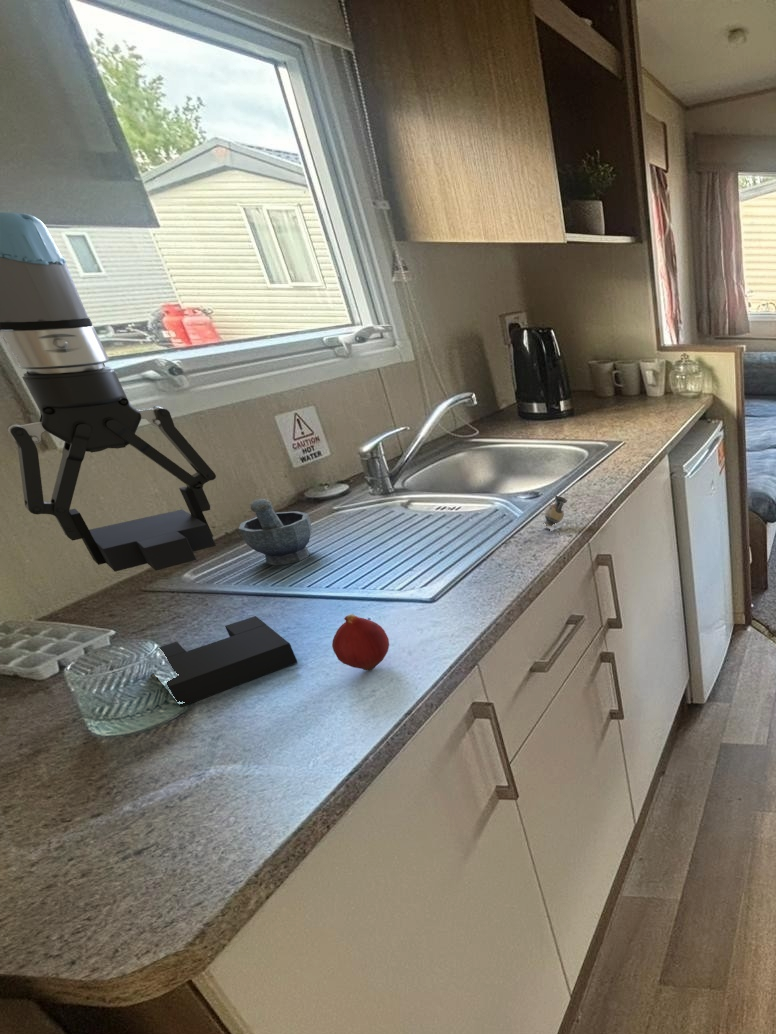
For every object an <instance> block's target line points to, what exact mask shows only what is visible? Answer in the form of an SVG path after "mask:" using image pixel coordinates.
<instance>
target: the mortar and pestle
mask: <svg viewBox="0 0 776 1034" xmlns="http://www.w3.org/2000/svg"><path fill="white" fill-rule="evenodd" d="M250 510H251V511H252V512H254V513H255V517H253V518H250V519H248V520H245V521H242V522H241V523H240V525H239V526H238V531H239V533H240V536H241V538H242V539H243V541H244V542H245V544H246V545H247V546H248V547H250V548H251V549H252V550H253V551H255V552H258V553H260V554H262V555H264V556H265V557H264V558H265V563H266V564H267V565H272V566H282V565H283V566H285V565H289V564H294V563H298V562H300V561H302V560H305V559H307V558H308V557H310V551H309V548H307V545H309V543H310V539H311V534H312V530H313V529H312V522H311V518H310V516H309V514H308V513H307V512H302V511H299V510H297V511H295V510H294V511H278V512H275V510H274V509H273V503H272V502H271V501H270V500H268V499H267V498H257V499H255V500H253V501H252V502H251V503H250Z"/></svg>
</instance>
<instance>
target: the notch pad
mask: <svg viewBox="0 0 776 1034" xmlns="http://www.w3.org/2000/svg"><path fill="white" fill-rule="evenodd" d="M224 627H225V630H226V632H227V634H228V636H229V637H226V638H222V639H219V640H216V641H213V642H211V643H207V644H204V645H202V646H198V647H195V648H192V649H189V650H186V649H185V648H184V647H183V646H182V645H181V644H180V643H179V642H178V641H174V642H171V643H168V644H165V645H162V646H158V647H159V648H160V649H161V650H162V651H163V652H164V654H165V656H166V657H167V659H168V661H169V663H170V664H171V666H172V668H173V669H174V671H176V673H177V674H179V676H177V677H176V678H173V679H172V680H170V681H168V682H167V685H168V687H169V689H170V690H171V692H172V694H173V696H174V697H175V699H176V700H177V702H179V701H180V702H182V701H183V702H185V703H183V704H180V705H179V704H178V703H177V702H176V704H177V705H178V706H179V707H180V708H182V707H185V706H188V705H190V704H193V703H196V702H198V701H201V700H203V699H205V698H209V697H212V696H214V695H216V694H219V693H222V692H225V691H227V690H229V689H233V688H234V687H238V686H240V685H242V684H245V683H247V682H251V681H253V680H256V679H259V678H261V677H263V676H266V675H269V674H272V673H274V672H277V671H279V670H282V669H285V668H287V667H290V666H292V665H293V666H294V665H295V664H297V663H298V660H297V657H296V655H295V653H294V651H293V648H292V645H291V643H290V642H289V641H287V640H286V639H285V638H284V637H282V636H281V635H280V634H279V633H278V632H276V631H275V630H274V629H273V628H271V627H270V626H269V625H268V624H267V623H265V622H264V621H263V620H262V619H260V618H259V617H258V616H257V615H255V616H252V617H248V618H245V619H242V620H239V621H235V622H233V623H230V624H226V625H224ZM175 699H173V700H174V701H175Z"/></svg>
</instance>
